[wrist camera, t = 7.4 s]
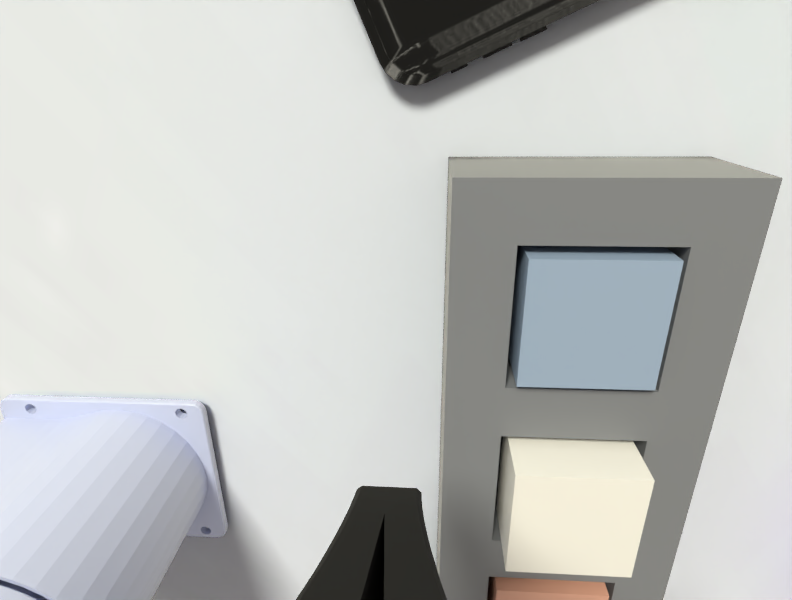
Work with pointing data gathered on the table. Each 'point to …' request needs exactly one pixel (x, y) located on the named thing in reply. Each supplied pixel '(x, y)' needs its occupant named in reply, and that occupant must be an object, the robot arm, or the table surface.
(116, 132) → the table surface
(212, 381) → the table surface
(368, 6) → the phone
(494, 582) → the terracotta key
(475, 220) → the key panel
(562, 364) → the blue key
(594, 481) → the ivory key
